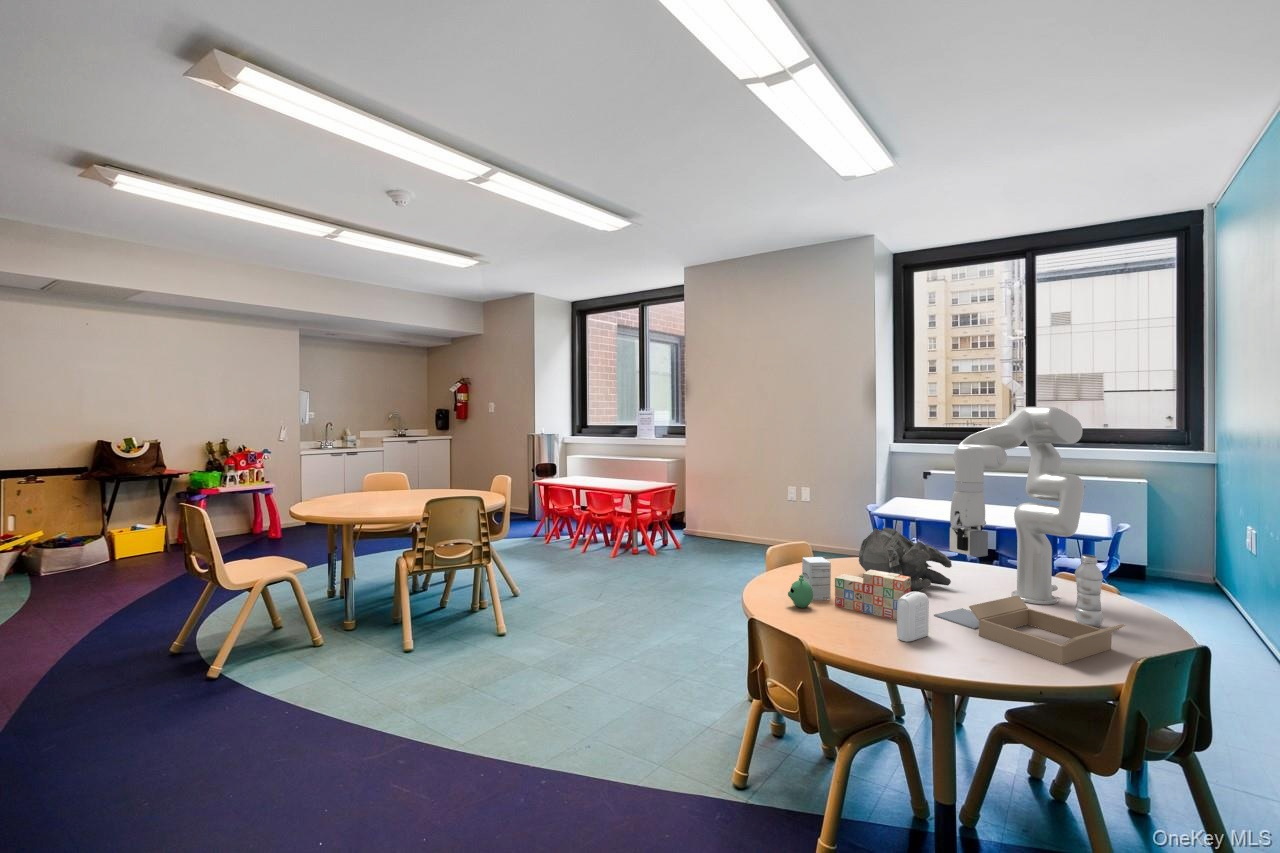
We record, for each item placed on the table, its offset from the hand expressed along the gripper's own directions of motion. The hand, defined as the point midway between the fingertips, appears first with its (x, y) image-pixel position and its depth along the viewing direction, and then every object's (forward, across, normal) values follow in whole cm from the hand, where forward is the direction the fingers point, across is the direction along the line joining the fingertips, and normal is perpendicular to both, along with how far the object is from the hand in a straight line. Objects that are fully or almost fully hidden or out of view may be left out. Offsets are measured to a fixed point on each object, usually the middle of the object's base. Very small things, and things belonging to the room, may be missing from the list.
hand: (968, 548), depth 180 cm
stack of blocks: (+22, +20, -18) cm, 34 cm away
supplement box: (+21, +25, -37) cm, 49 cm away
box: (+1, 0, 0) cm, 1 cm away
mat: (+21, 0, 0) cm, 21 cm away
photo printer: (+21, +27, +3) cm, 35 cm away
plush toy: (+21, -15, -36) cm, 44 cm away
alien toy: (+21, +37, -31) cm, 53 cm away
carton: (+21, -1, +21) cm, 30 cm away
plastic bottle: (+21, -26, +19) cm, 39 cm away
